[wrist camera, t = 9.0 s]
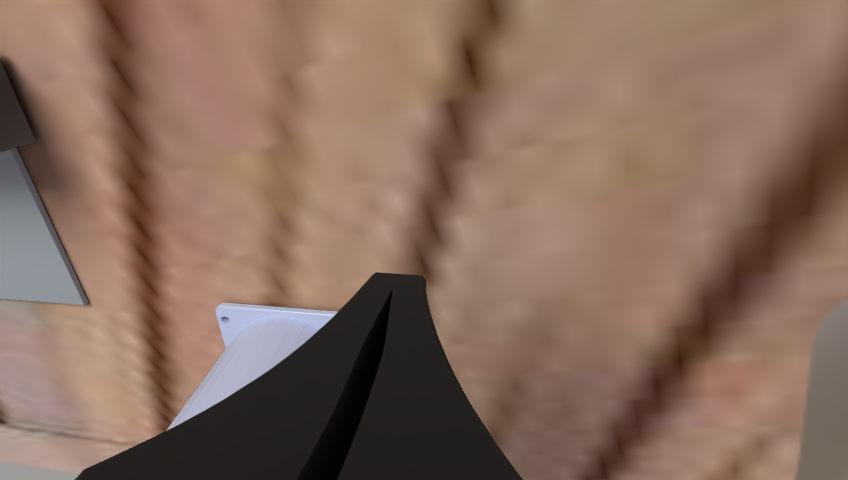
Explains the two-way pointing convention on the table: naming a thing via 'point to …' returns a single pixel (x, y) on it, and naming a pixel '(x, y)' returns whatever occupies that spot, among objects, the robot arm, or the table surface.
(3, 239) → the mat
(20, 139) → the birch block
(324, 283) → the table surface
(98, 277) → the table surface
